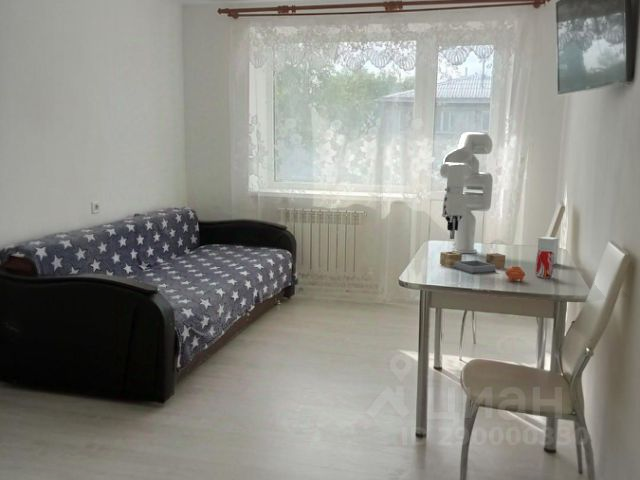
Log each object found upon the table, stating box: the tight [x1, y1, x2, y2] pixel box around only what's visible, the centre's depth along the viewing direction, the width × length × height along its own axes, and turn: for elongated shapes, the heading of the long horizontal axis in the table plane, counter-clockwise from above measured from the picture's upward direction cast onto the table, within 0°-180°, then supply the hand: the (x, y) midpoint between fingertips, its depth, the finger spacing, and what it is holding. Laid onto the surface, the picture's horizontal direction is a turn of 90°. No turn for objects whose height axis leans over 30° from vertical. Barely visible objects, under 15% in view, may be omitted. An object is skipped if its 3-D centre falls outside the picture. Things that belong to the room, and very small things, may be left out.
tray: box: [453, 259, 497, 275], centre depth 267 cm, size 13×13×3 cm
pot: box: [505, 265, 526, 283], centre depth 247 cm, size 8×8×7 cm
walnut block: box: [485, 252, 506, 270], centre depth 275 cm, size 6×6×6 cm
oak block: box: [439, 250, 463, 268], centre depth 277 cm, size 7×7×6 cm
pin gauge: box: [449, 216, 456, 240], centre depth 274 cm, size 2×2×12 cm
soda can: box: [534, 249, 554, 279], centre depth 255 cm, size 7×7×12 cm
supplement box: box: [537, 236, 560, 265], centre depth 286 cm, size 7×7×13 cm
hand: (452, 229), depth 274 cm, fingers closed on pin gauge, 2 cm apart
